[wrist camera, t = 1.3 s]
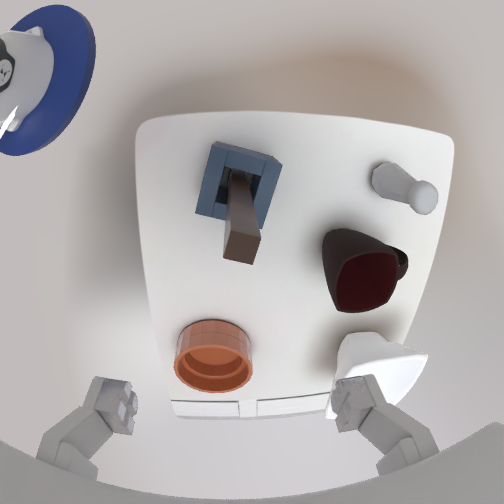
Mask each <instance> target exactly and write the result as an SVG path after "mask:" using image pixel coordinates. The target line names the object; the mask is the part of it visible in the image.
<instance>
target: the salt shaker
mask: <svg viewBox="0 0 504 504" xmlns="http://www.w3.org/2000/svg"><path fill="white" fill-rule="evenodd" d="M371 181H372V185H373V187H374V189H375V191H376V193H378V194H379V195H380V196H381V197H382V198H386V199H390V200H394V201H398V202H402V203H406V204H410V207H411V208H412V209H413V210H414V211H415V212H416V213H418V214H423V215H427V214H429V213H431V212H432V211H433V210H434V209H435V207H436V205H437V203H438V193H437V189H436V188H435V187H434V186H433V185H432V184H431V183H429V182H426V181H417V180H416V179H414V178H413V177H412V176H411V175H409V174H408V173H407V172H406V171H404V170H403V169H402V168H401V167H399V166H398V165H397V164H395V163H391V162H386V163H383V164H380V165H379V166H378V167H377V168H375V169H374V170H373V175H372V180H371Z"/></svg>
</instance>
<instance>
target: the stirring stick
mask: <svg viewBox="0 0 504 504" xmlns="http://www.w3.org/2000/svg"><path fill="white" fill-rule="evenodd" d="M260 241H261V235H260V230H259V226H258V222H257V218H256V213H255V209H254V205H253V201H252V197H251V192H250V188H249V184H248V180H247V176H246V172H244V171H241V170H237V169H233V168H232V170H231V174H230V177H229V181H228V194H227V207H226V221H225V236H224V251H223V258H224V259H229V260H233V261H238V262H242V263H247V264H251V265H253V262H254V259H255V256H256V253H257V250H258V247H259V244H260Z"/></svg>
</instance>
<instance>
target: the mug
mask: <svg viewBox="0 0 504 504" xmlns="http://www.w3.org/2000/svg"><path fill="white" fill-rule="evenodd" d="M322 257H323V266H324V272H325V277H326V281H327V285H328V289H329V292H330V295H331V298H332V300H333V302H334V305H335V307H336V309H337V311H341V312H346V313H360V312H366V311H369V310H372V309H375V308H378V307H380V306H382V305H384V304H385V303H387V302H388V300H389V299H390V297H391V295H392V294H393V292H394V289H395V287H396V284H397V280H400V279H401V278H402V277H403V276H404V275H405V273H406V271H407V269H408V257H407V255H406V254H405V253H404V252H403V251H401V250H399V249H397V248H395V247H392V246H389V245H386V244H384V243H382V242H381V241H379V240H377V239H375V238H373V237H371V236H368V235H366V234H364V233H361V232H358V231H354V230H350V229H336V230H333V231H330V232H328V233H327V234H326V236H325V238H324V241H323V246H322ZM399 265H400V266H399Z"/></svg>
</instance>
